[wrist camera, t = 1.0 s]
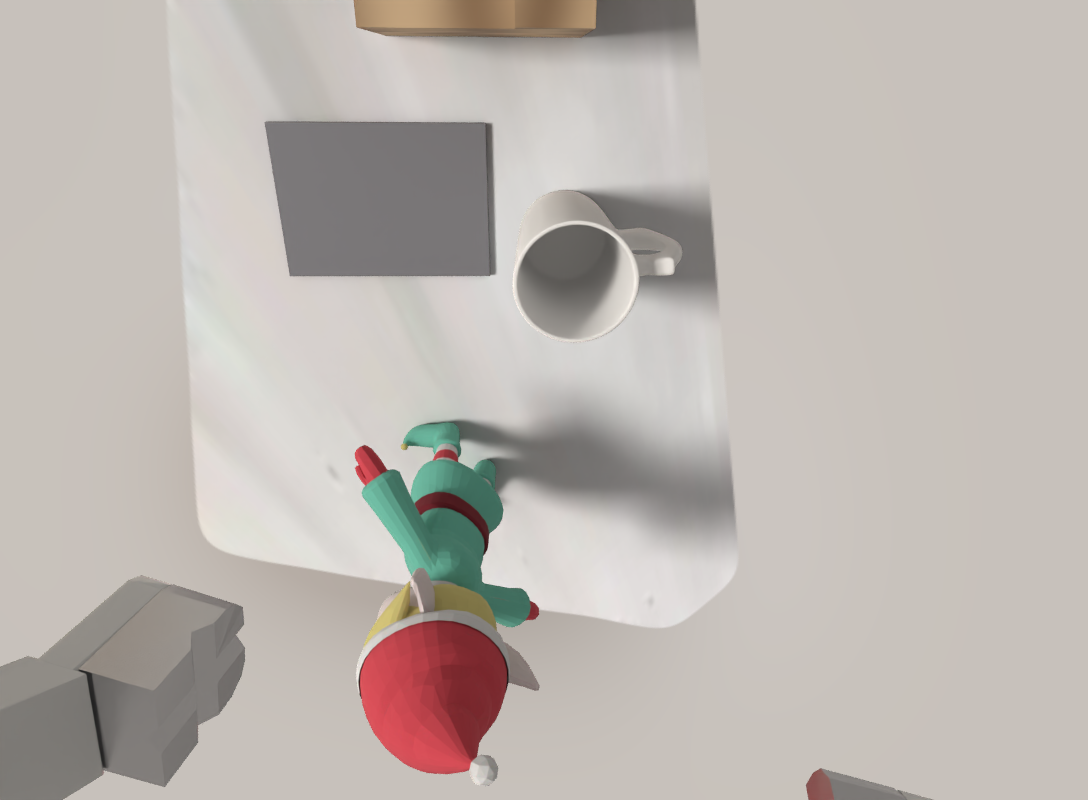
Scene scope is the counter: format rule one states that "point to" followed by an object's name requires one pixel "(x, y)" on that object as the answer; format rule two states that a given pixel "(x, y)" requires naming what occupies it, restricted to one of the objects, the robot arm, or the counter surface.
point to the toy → (440, 613)
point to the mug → (582, 267)
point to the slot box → (477, 17)
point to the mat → (382, 197)
